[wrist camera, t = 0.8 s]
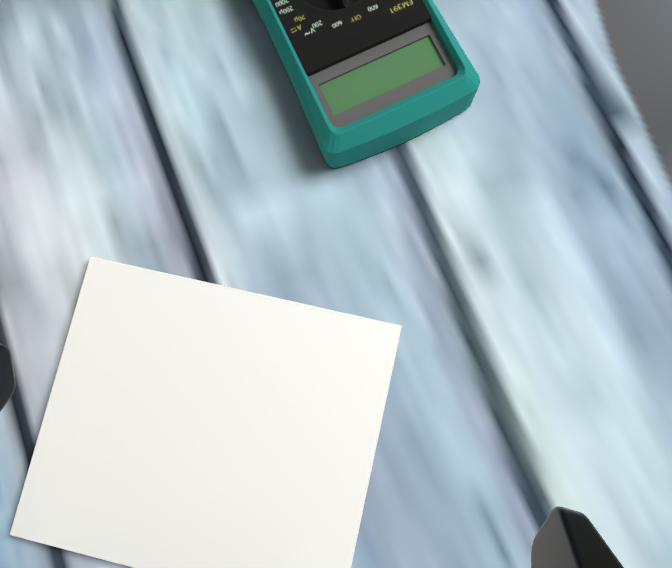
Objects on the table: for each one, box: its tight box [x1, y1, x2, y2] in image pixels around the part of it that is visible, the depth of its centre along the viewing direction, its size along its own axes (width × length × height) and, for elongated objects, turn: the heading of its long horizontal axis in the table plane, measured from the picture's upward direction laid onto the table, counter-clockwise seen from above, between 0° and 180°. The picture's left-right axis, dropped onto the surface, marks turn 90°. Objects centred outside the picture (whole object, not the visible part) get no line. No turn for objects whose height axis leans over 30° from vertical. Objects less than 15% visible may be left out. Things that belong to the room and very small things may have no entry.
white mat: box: [10, 256, 402, 568], centre depth 22 cm, size 12×14×1 cm
